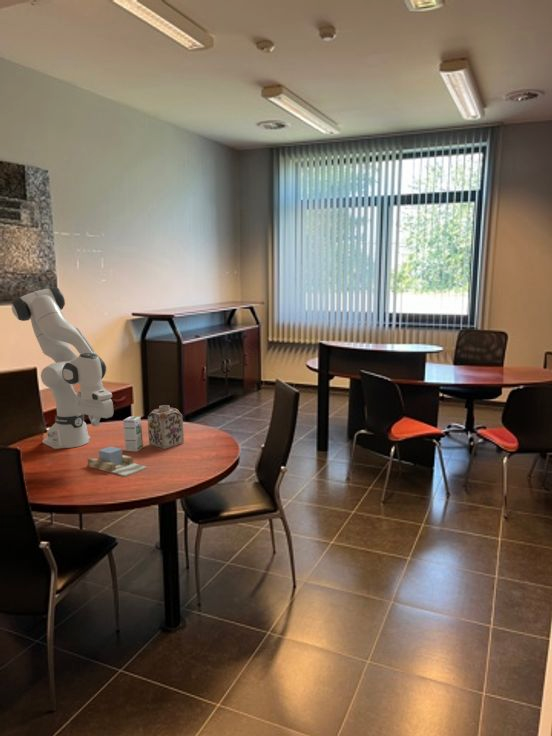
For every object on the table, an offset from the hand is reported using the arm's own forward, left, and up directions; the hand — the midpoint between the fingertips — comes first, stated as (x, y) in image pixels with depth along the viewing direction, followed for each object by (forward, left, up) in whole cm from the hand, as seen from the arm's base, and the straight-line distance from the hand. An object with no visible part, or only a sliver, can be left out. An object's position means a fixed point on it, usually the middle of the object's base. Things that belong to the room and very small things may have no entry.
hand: (95, 425), depth 220 cm
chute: (+11, 0, -16) cm, 19 cm away
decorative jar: (+7, +32, -16) cm, 36 cm away
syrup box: (0, +19, -16) cm, 25 cm away
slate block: (+8, 0, -16) cm, 18 cm away
